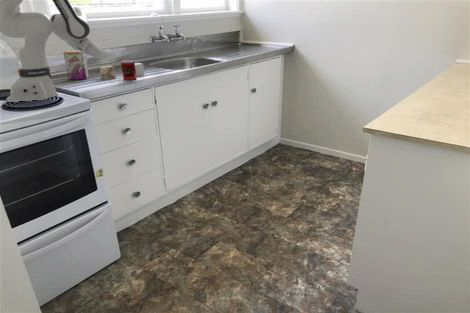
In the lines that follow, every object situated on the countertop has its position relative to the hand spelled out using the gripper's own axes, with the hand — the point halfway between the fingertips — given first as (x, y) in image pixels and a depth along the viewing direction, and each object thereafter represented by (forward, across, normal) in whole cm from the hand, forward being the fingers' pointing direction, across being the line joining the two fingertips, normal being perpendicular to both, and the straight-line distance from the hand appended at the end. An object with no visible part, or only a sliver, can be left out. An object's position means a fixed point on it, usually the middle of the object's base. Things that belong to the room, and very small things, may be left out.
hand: (100, 58), depth 194 cm
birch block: (+19, -18, -4) cm, 26 cm away
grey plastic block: (+31, -14, +9) cm, 35 cm away
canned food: (+23, -3, +2) cm, 23 cm away
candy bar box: (+10, -31, -14) cm, 35 cm away
